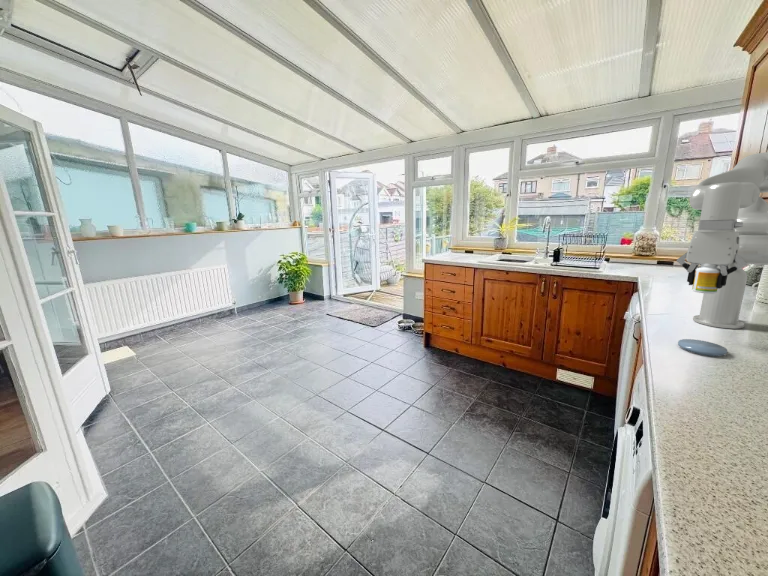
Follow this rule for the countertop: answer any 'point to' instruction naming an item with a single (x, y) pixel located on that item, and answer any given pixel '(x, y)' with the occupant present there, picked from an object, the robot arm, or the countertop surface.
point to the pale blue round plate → (702, 347)
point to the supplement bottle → (706, 279)
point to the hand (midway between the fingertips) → (705, 285)
